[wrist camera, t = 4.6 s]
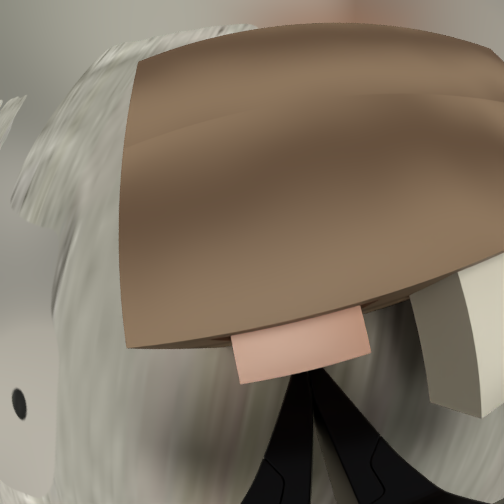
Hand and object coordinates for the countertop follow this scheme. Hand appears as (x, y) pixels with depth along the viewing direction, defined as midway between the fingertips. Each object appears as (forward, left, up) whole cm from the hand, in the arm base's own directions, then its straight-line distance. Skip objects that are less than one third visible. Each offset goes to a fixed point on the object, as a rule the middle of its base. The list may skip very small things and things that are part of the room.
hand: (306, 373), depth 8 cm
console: (+8, -7, -7) cm, 12 cm away
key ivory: (0, -7, -2) cm, 7 cm away
